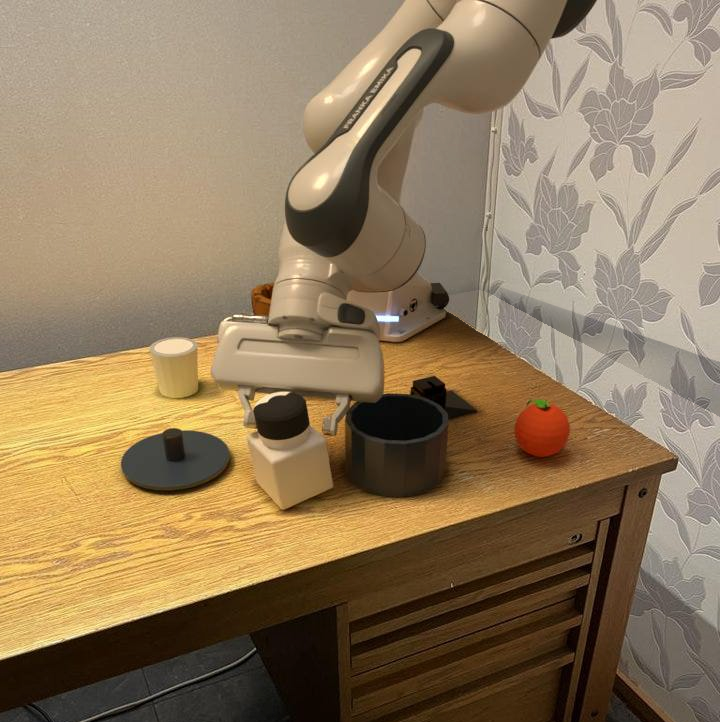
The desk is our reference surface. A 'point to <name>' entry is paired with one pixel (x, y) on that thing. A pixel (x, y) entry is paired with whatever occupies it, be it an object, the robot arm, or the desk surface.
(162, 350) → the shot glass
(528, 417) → the clementine
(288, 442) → the medicine bottle
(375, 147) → the robot arm
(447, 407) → the black wedge
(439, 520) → the desk surface
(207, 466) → the pot lid
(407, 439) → the enamel pot
